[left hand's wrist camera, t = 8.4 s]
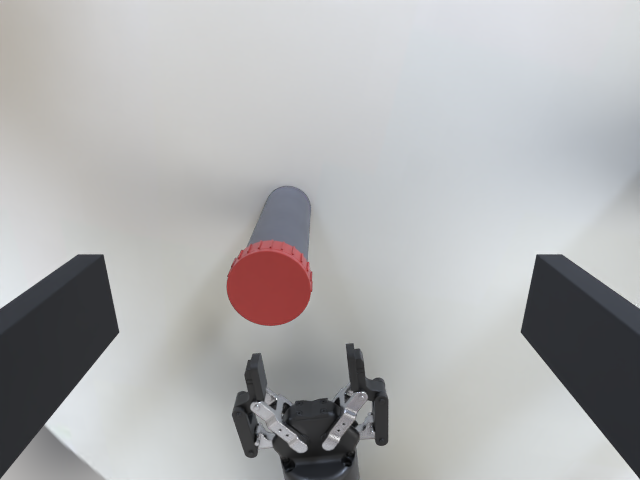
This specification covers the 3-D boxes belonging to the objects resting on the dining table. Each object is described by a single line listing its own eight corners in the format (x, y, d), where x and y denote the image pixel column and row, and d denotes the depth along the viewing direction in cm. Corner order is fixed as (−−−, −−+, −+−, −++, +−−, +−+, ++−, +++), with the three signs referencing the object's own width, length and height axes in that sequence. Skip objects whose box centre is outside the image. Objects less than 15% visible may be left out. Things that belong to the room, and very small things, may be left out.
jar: (261, 223, 38) (227, 308, 24) (271, 180, 37) (241, 244, 22) (304, 233, 39) (296, 324, 24) (315, 192, 37) (314, 262, 23)
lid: (224, 301, 25) (218, 316, 23) (239, 229, 23) (234, 240, 22) (301, 319, 25) (300, 335, 24) (321, 250, 24) (322, 262, 22)
